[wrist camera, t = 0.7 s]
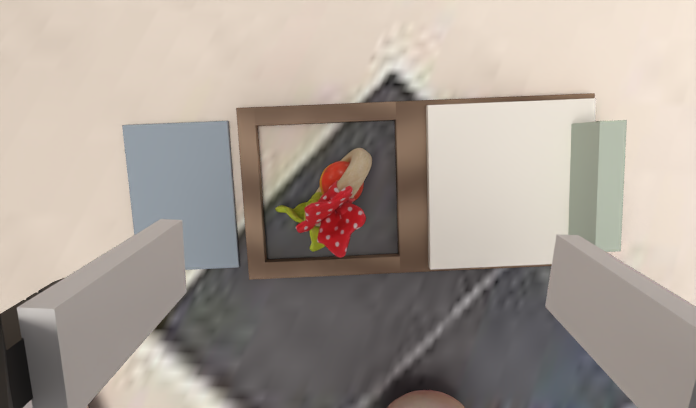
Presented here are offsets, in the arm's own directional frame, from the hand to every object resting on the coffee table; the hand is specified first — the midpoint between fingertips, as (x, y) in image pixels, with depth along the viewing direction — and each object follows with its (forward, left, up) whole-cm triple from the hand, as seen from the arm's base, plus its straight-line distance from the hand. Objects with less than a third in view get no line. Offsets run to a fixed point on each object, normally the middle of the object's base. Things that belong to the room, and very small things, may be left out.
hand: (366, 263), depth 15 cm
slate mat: (0, +15, -24) cm, 28 cm away
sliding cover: (0, -14, -22) cm, 26 cm away
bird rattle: (0, +2, -24) cm, 24 cm away
